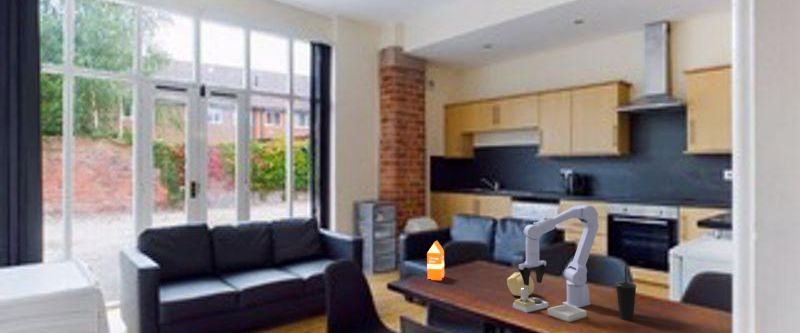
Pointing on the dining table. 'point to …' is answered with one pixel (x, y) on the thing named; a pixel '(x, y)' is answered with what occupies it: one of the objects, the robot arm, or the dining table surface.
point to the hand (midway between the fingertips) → (532, 283)
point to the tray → (566, 312)
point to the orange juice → (435, 262)
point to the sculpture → (519, 284)
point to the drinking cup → (626, 298)
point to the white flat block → (530, 304)
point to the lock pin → (524, 294)
